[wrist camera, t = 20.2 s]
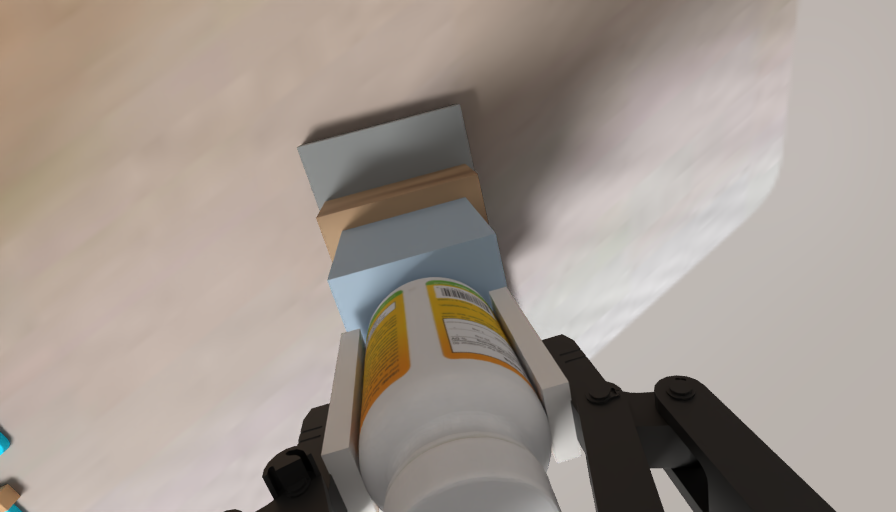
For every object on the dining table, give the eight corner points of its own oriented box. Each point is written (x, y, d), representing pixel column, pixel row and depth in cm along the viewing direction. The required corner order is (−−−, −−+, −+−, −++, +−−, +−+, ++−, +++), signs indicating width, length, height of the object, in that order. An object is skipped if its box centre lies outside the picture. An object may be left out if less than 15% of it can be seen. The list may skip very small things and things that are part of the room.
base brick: (324, 201, 28) (316, 218, 24) (465, 163, 28) (477, 173, 24) (368, 325, 31) (366, 356, 27) (493, 289, 31) (508, 315, 28)
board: (301, 144, 28) (296, 147, 26) (456, 104, 28) (459, 104, 27) (376, 357, 34) (376, 368, 32) (504, 320, 34) (509, 329, 33)
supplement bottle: (390, 404, 20) (395, 666, 10) (347, 297, 18) (309, 500, 9) (507, 367, 20) (613, 591, 11) (477, 256, 18) (574, 413, 9)
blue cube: (341, 231, 24) (327, 280, 18) (465, 197, 25) (495, 233, 18) (379, 338, 27) (378, 416, 20) (491, 306, 27) (525, 373, 21)
